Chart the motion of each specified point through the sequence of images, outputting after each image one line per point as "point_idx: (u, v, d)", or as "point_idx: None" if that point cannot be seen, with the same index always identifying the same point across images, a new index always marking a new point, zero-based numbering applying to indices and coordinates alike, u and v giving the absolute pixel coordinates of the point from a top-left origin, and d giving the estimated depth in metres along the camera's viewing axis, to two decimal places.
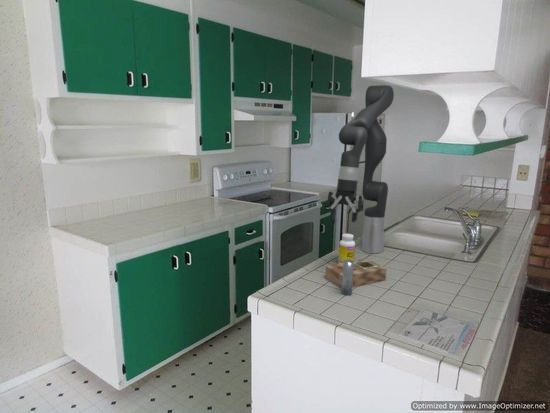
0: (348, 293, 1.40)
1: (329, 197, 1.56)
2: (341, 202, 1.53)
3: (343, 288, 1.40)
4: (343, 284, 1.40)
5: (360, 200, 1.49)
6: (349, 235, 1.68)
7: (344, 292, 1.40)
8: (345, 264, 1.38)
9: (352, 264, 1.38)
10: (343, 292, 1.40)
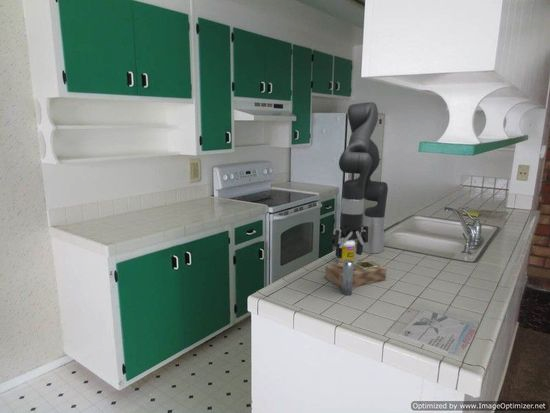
0: (348, 293, 1.40)
1: (337, 236, 1.33)
2: (349, 238, 1.36)
3: (343, 288, 1.40)
4: (343, 284, 1.40)
5: (367, 231, 1.39)
6: None
7: (344, 292, 1.40)
8: (345, 264, 1.38)
9: (352, 264, 1.38)
10: (343, 292, 1.40)
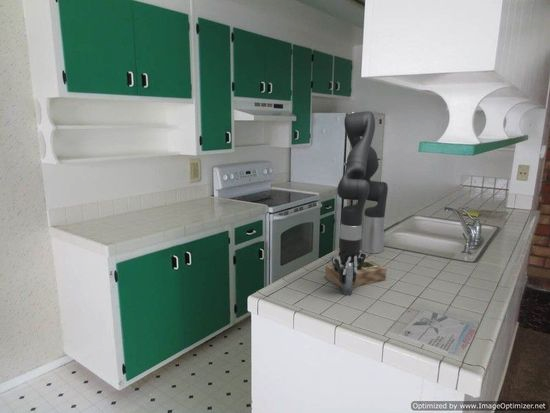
0: (348, 293, 1.40)
1: (338, 264, 1.36)
2: (350, 261, 1.38)
3: (343, 288, 1.40)
4: (343, 284, 1.40)
5: (364, 259, 1.41)
6: None
7: (344, 292, 1.40)
8: None
9: (352, 264, 1.38)
10: (343, 292, 1.40)
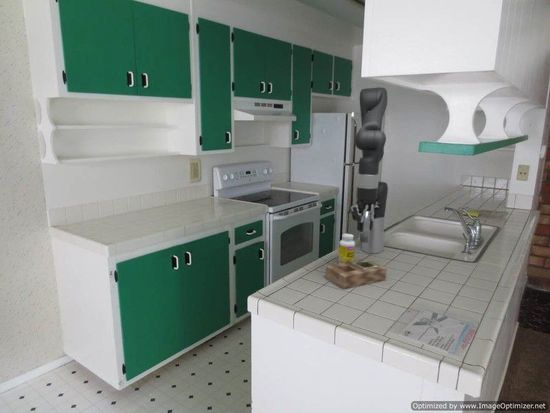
0: (365, 240, 1.48)
1: (356, 212, 1.44)
2: (367, 210, 1.46)
3: (361, 236, 1.48)
4: (361, 232, 1.48)
5: (380, 208, 1.49)
6: (349, 235, 1.68)
7: (362, 239, 1.48)
8: None
9: (369, 212, 1.46)
10: (361, 239, 1.49)
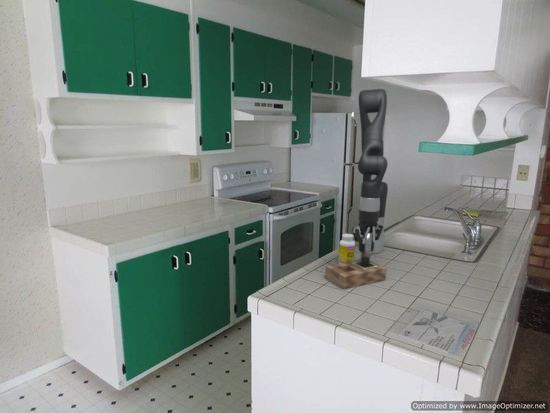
0: (367, 261, 1.53)
1: (358, 234, 1.49)
2: (368, 232, 1.51)
3: (362, 256, 1.54)
4: (362, 253, 1.53)
5: (381, 230, 1.54)
6: (349, 235, 1.68)
7: (363, 260, 1.54)
8: None
9: (371, 234, 1.51)
10: (362, 260, 1.54)
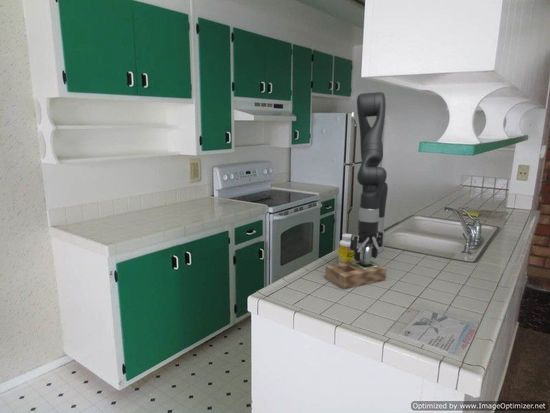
0: None
1: (356, 241, 1.49)
2: (366, 243, 1.52)
3: None
4: (362, 266, 1.55)
5: (382, 236, 1.55)
6: (349, 235, 1.68)
7: None
8: (364, 248, 1.53)
9: (370, 248, 1.52)
10: None
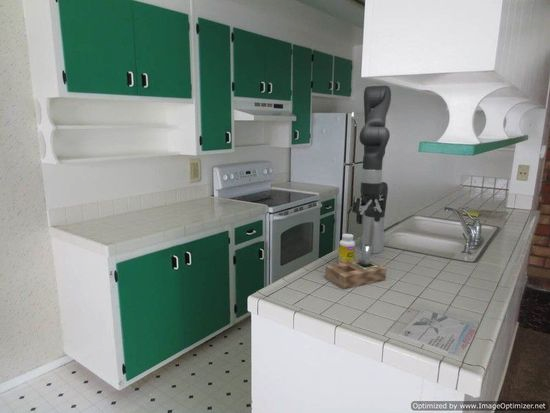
0: None
1: (358, 203, 1.46)
2: (369, 205, 1.49)
3: None
4: None
5: (385, 199, 1.52)
6: (349, 235, 1.68)
7: None
8: (364, 248, 1.53)
9: (370, 248, 1.53)
10: None
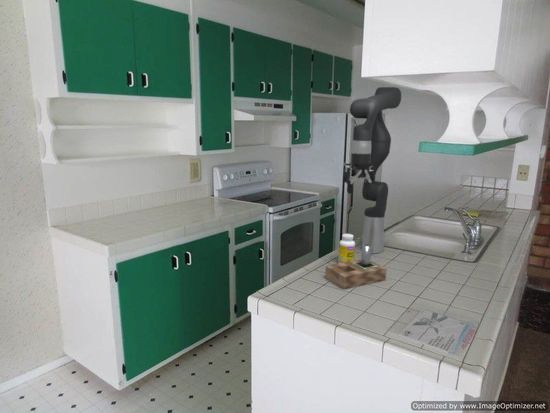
0: None
1: (349, 173, 1.54)
2: (359, 176, 1.56)
3: None
4: None
5: (374, 170, 1.59)
6: (349, 235, 1.68)
7: None
8: (363, 248, 1.53)
9: (370, 248, 1.53)
10: None
